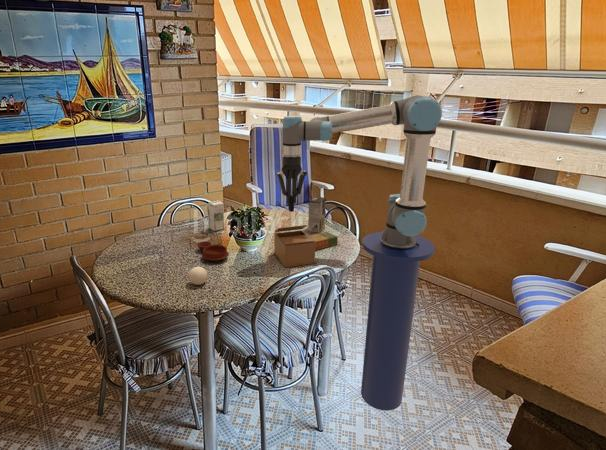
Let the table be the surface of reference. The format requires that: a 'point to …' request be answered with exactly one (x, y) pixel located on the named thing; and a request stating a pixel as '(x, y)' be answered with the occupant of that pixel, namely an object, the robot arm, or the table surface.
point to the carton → (324, 240)
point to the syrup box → (216, 215)
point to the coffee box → (316, 214)
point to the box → (294, 248)
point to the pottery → (213, 251)
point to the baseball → (198, 275)
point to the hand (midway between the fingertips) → (291, 210)
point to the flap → (291, 228)
